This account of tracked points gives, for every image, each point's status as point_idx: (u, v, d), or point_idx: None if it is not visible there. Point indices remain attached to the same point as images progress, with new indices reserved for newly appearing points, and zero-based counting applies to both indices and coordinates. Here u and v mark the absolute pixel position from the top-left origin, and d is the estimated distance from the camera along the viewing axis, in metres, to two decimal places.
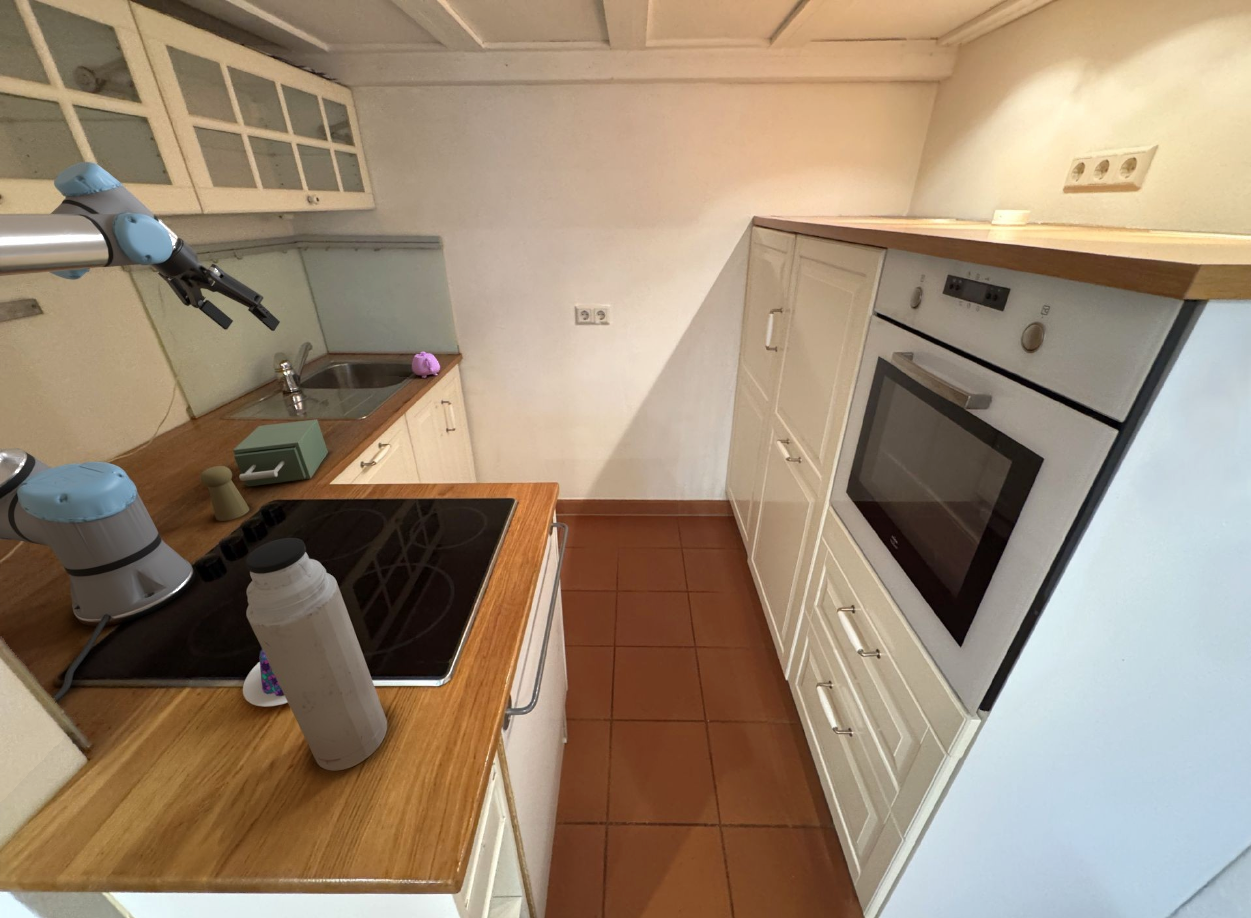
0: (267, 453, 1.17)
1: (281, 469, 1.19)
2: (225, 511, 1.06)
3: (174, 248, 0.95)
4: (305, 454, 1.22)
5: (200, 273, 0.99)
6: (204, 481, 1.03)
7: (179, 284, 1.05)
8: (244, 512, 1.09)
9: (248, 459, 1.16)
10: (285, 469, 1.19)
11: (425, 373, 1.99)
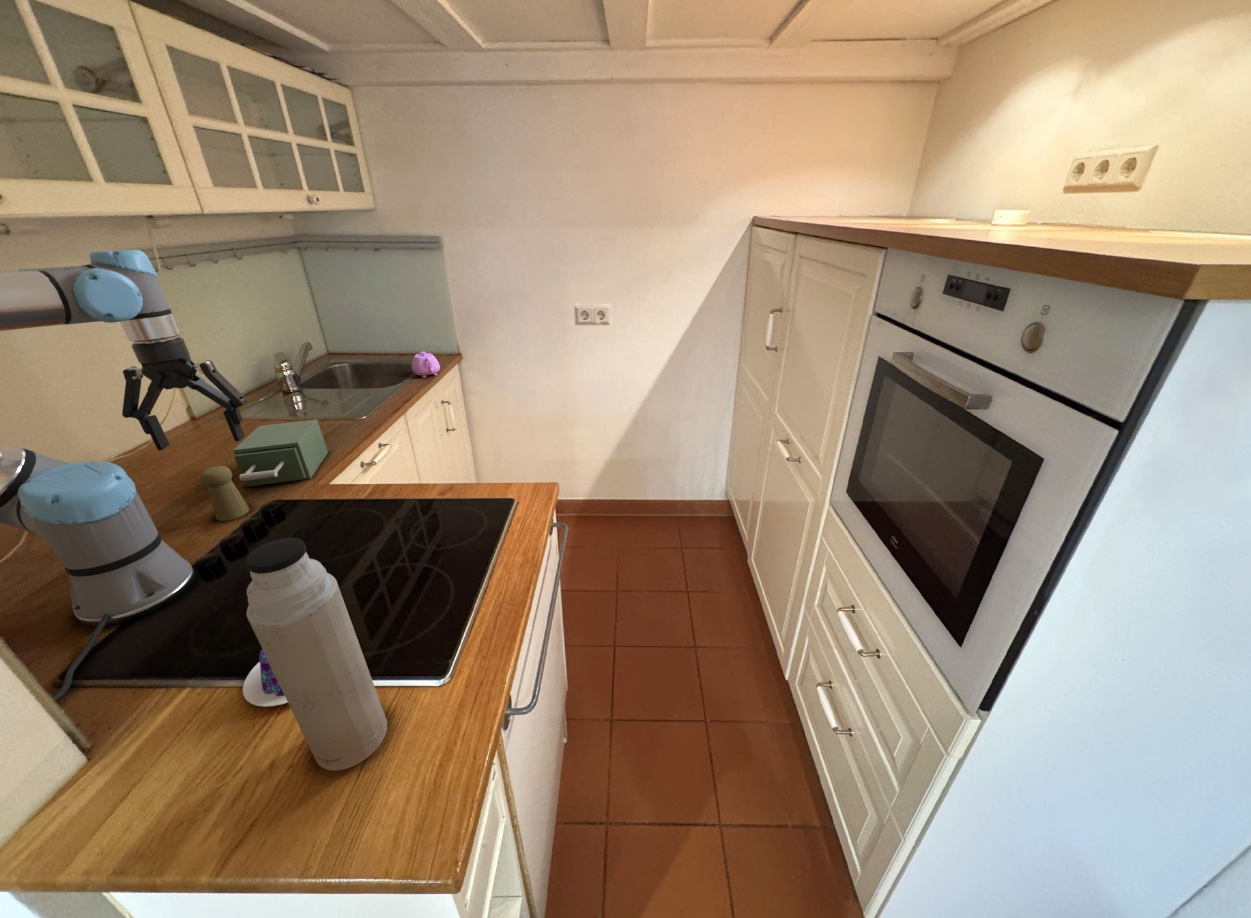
0: (267, 453, 1.17)
1: (281, 469, 1.19)
2: (225, 511, 1.06)
3: (176, 338, 0.93)
4: (305, 454, 1.22)
5: (190, 366, 0.95)
6: (204, 481, 1.03)
7: (136, 389, 0.95)
8: (244, 512, 1.09)
9: (248, 459, 1.16)
10: (285, 469, 1.19)
11: (425, 373, 1.99)
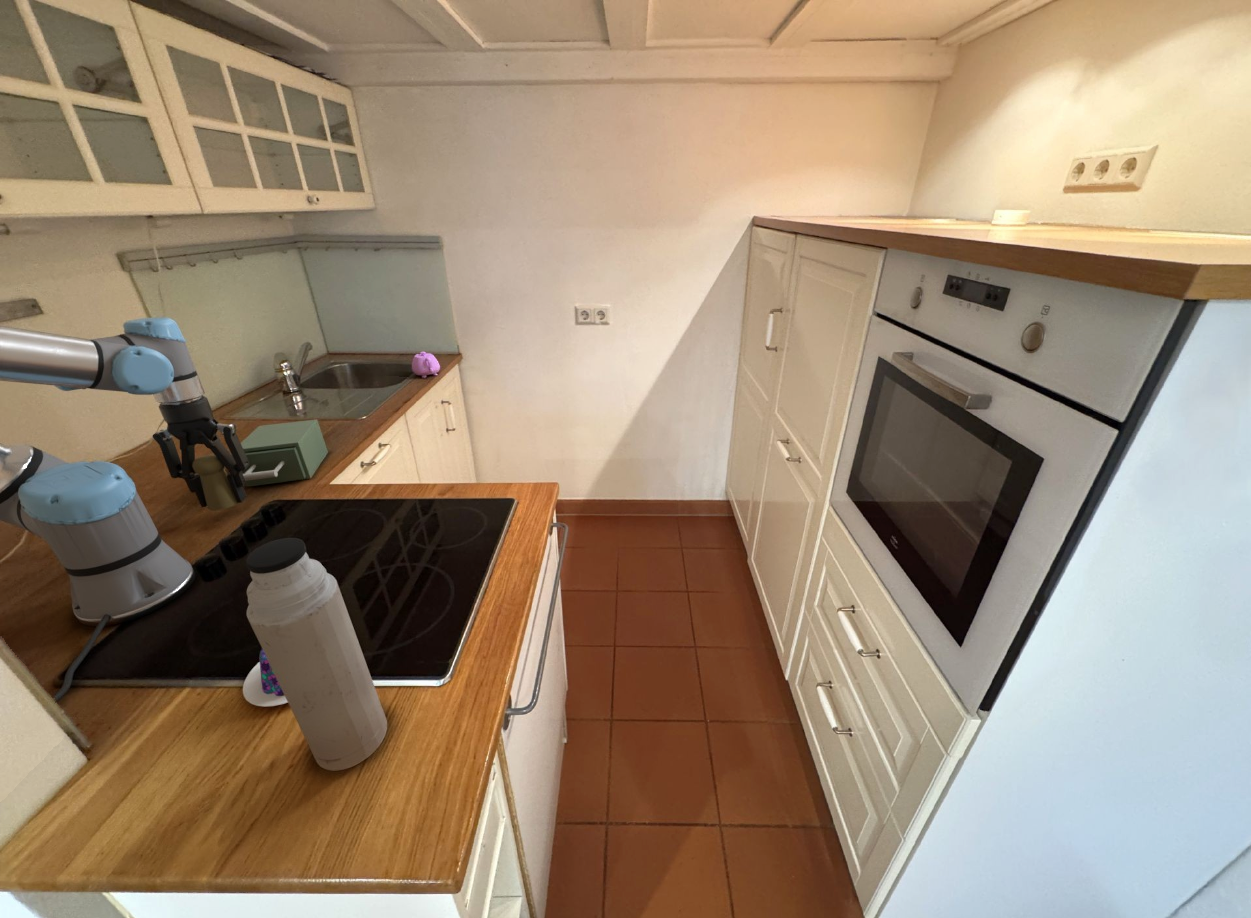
0: (267, 453, 1.17)
1: (281, 469, 1.19)
2: (217, 500, 1.04)
3: (200, 398, 0.98)
4: (305, 454, 1.22)
5: (214, 425, 1.00)
6: (196, 469, 1.01)
7: (172, 449, 1.01)
8: (236, 502, 1.07)
9: (248, 459, 1.16)
10: (285, 469, 1.19)
11: (425, 373, 1.99)
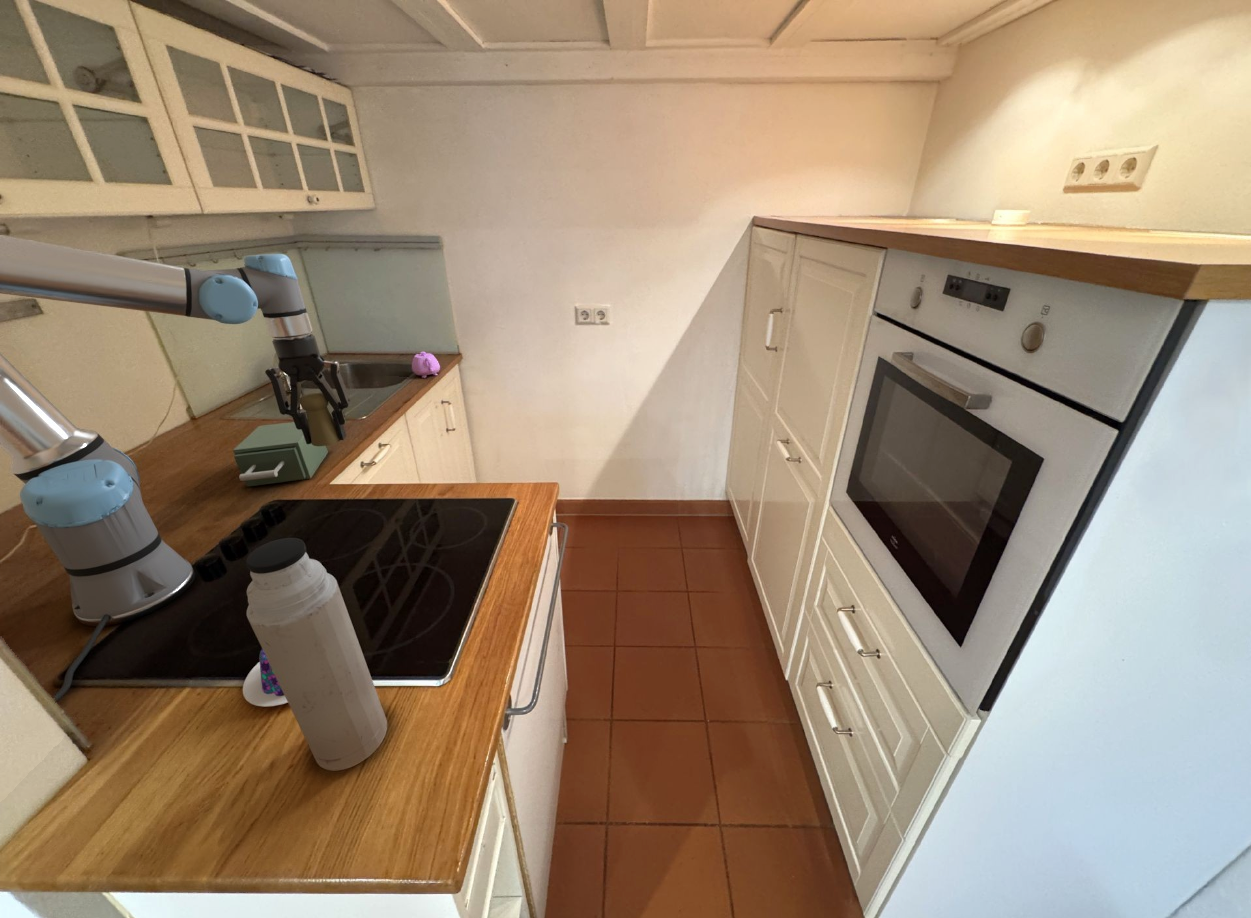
0: (267, 453, 1.17)
1: (281, 469, 1.19)
2: (322, 436, 1.08)
3: (309, 334, 1.02)
4: (305, 454, 1.22)
5: (322, 362, 1.04)
6: (304, 405, 1.05)
7: (281, 386, 1.05)
8: (338, 439, 1.11)
9: (248, 459, 1.16)
10: (285, 469, 1.19)
11: (425, 373, 1.99)
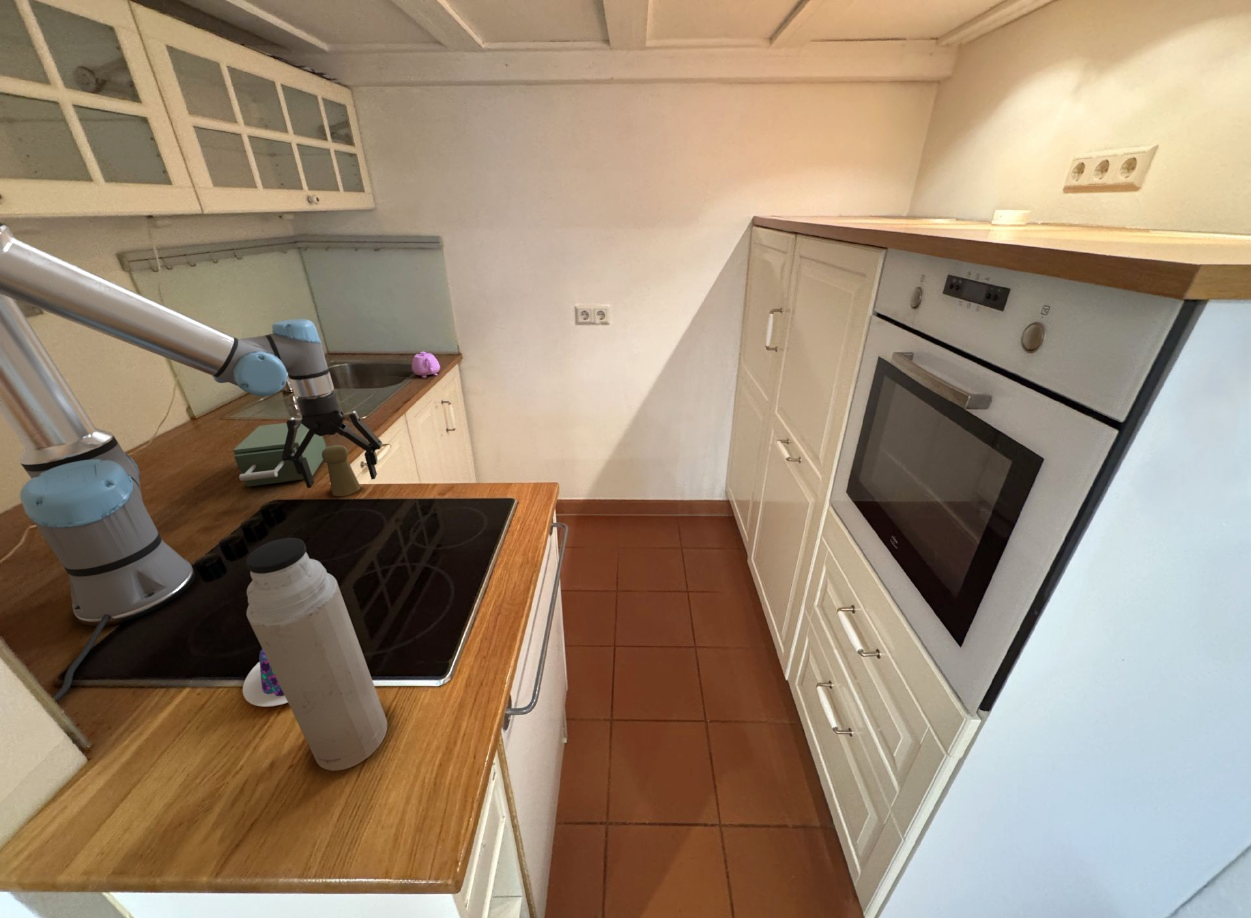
0: (267, 453, 1.17)
1: (281, 469, 1.19)
2: (342, 486, 1.14)
3: (331, 392, 1.08)
4: (305, 454, 1.22)
5: (341, 416, 1.09)
6: (326, 458, 1.11)
7: (294, 436, 1.10)
8: (357, 488, 1.17)
9: (248, 459, 1.16)
10: (285, 469, 1.19)
11: (425, 373, 1.99)
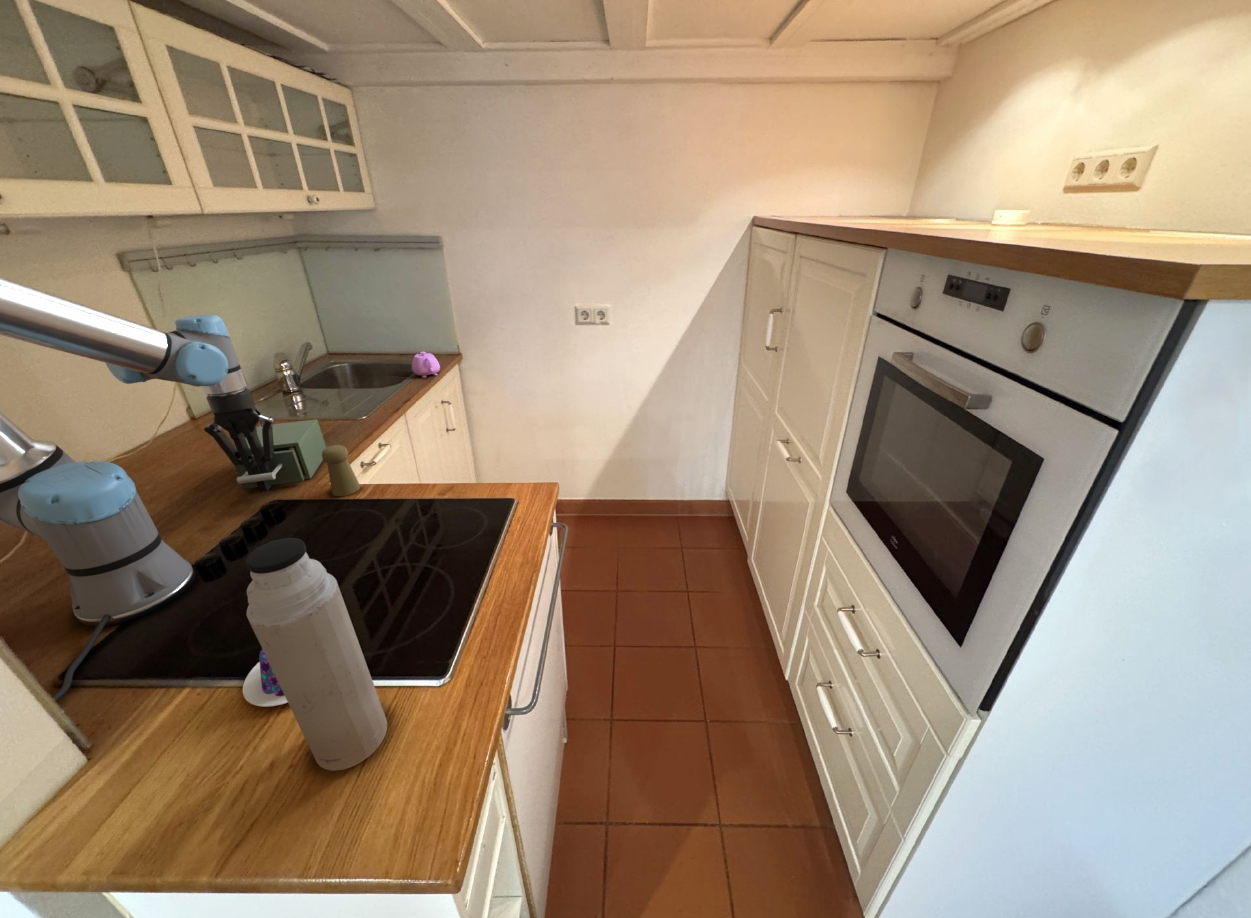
0: None
1: (279, 471, 1.18)
2: (342, 486, 1.14)
3: (244, 389, 1.05)
4: (305, 454, 1.22)
5: (257, 417, 1.08)
6: (326, 458, 1.11)
7: (225, 439, 1.09)
8: (357, 488, 1.17)
9: None
10: (283, 471, 1.18)
11: (425, 373, 1.99)
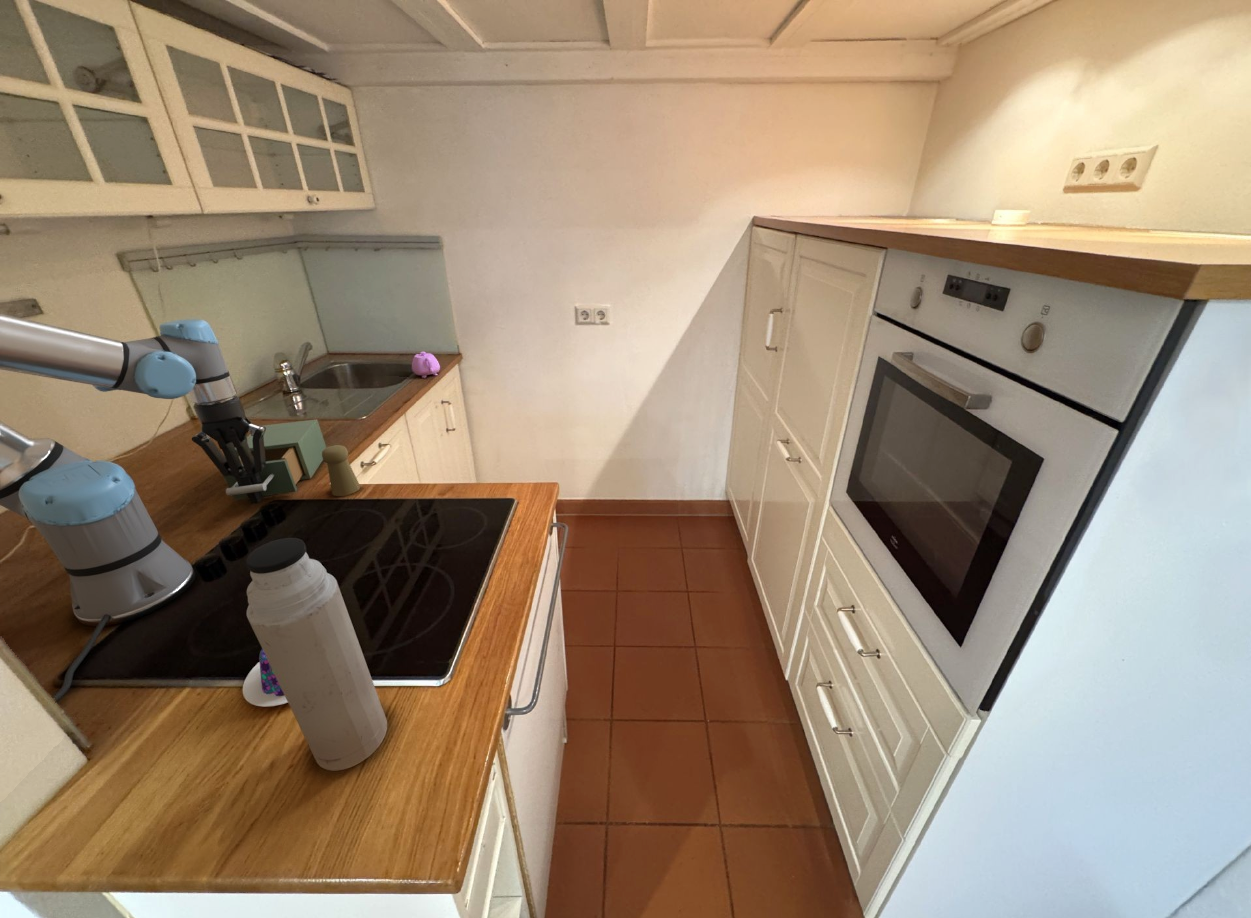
0: None
1: (271, 482, 1.13)
2: (342, 486, 1.14)
3: (233, 397, 1.01)
4: (305, 454, 1.22)
5: (247, 426, 1.03)
6: (326, 458, 1.11)
7: (214, 449, 1.04)
8: (357, 488, 1.17)
9: None
10: (274, 482, 1.13)
11: (425, 373, 1.99)
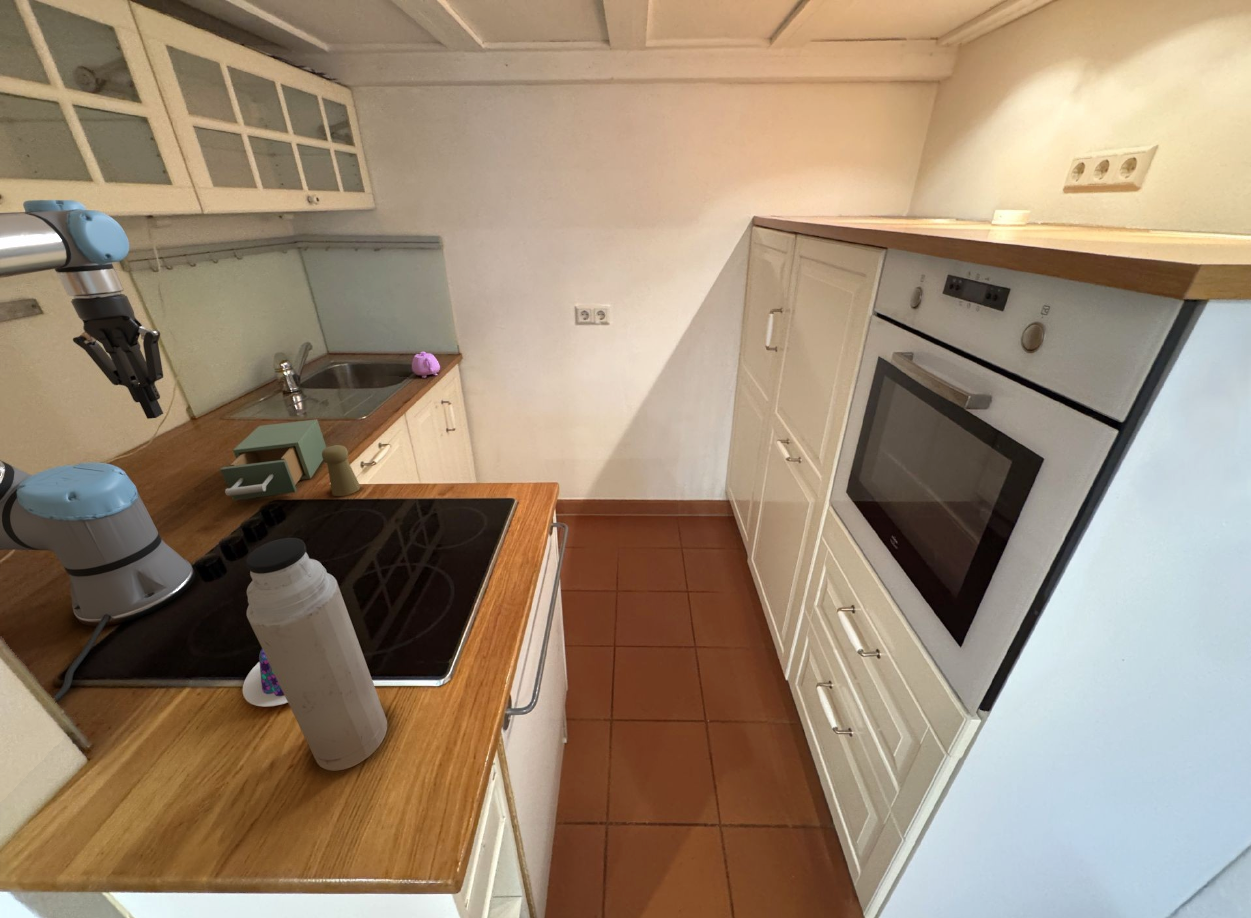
0: (255, 466, 1.11)
1: (270, 482, 1.13)
2: (342, 486, 1.14)
3: (118, 294, 0.92)
4: (305, 454, 1.22)
5: (136, 327, 0.94)
6: (326, 458, 1.11)
7: (101, 353, 0.95)
8: (357, 488, 1.17)
9: (235, 472, 1.10)
10: (274, 482, 1.13)
11: (425, 373, 1.99)
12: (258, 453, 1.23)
